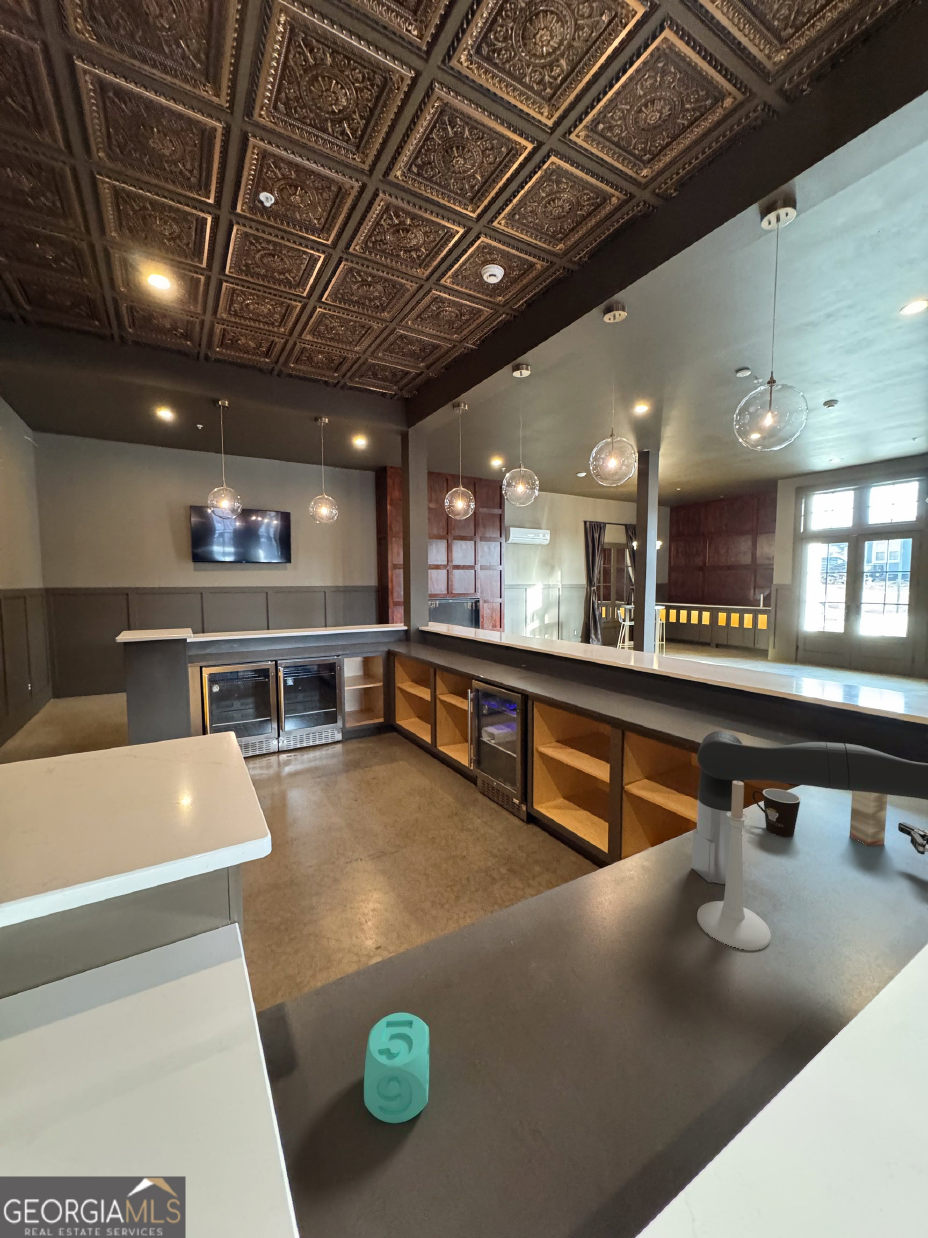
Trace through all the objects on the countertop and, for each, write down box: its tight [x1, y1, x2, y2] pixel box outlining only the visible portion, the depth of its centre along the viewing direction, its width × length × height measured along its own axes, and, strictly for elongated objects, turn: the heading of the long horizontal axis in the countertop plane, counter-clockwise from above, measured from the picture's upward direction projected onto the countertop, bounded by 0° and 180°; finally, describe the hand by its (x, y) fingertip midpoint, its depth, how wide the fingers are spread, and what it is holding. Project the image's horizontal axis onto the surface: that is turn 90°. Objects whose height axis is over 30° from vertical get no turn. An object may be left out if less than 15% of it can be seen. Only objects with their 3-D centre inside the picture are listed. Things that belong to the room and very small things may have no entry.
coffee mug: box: [752, 788, 801, 838], centre depth 134 cm, size 12×9×10 cm
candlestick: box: [696, 781, 772, 951], centre depth 96 cm, size 13×13×30 cm
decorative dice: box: [363, 1012, 430, 1124], centre depth 66 cm, size 8×8×8 cm
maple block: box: [849, 791, 888, 847], centre depth 127 cm, size 5×5×16 cm
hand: (900, 826), depth 119 cm, fingers closed
